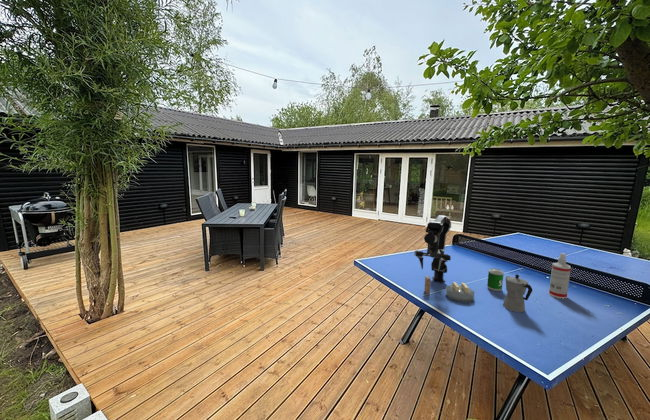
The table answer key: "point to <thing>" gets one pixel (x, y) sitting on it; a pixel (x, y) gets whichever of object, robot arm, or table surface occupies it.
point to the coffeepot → (516, 293)
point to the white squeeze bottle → (560, 278)
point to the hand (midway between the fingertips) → (430, 270)
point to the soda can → (495, 279)
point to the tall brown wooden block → (427, 284)
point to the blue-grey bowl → (460, 292)
